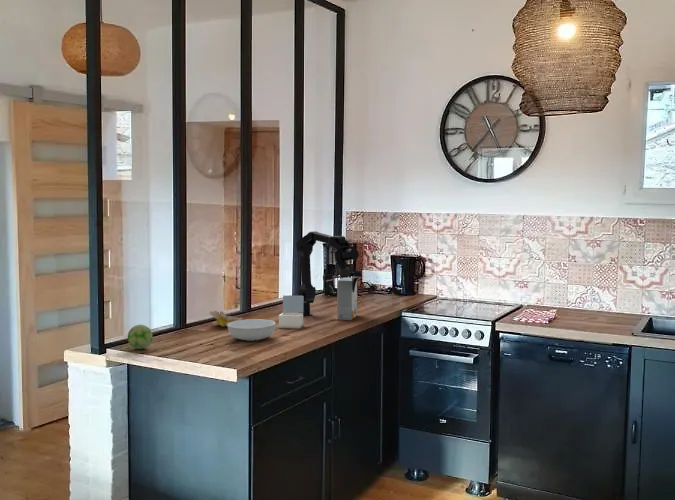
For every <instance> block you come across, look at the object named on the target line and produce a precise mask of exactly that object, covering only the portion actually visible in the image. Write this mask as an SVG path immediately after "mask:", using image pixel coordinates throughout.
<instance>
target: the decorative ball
mask: <svg viewBox="0 0 675 500" xmlns="http://www.w3.org/2000/svg"><path fill="white" fill-rule="evenodd" d="M127 341H128V344H129V345H130V346H131V347H133V348H134V349H136V350H144V349H147V348H148V347H150V345H151V343H152V342H153V332H152V329H151V328H150V327H148V326H147V325H145V324H137V325H133V327H131V328H130V329H129V331H128V333H127ZM143 348H144V349H143Z"/></svg>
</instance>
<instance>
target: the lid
mask: <svg viewBox="0 0 675 500" xmlns="http://www.w3.org/2000/svg"><path fill="white" fill-rule="evenodd" d="M303 302H304V296H298V295H285V294H284V295H282V313H303Z"/></svg>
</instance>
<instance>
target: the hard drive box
mask: <svg viewBox="0 0 675 500" xmlns="http://www.w3.org/2000/svg"><path fill="white" fill-rule="evenodd" d="M352 278H353V277H342V278H339V279H338V280H337V286H336V287H337V294H336V299H337V300H336V320H342V321H352V320H353V319H355V317H357V315H358V314H357V313H358V309H357V308H358V303H357V302H358V301H357V300H358V284H357V283H358V280H357V281H356V284H355V289H354V292H353V291H352Z"/></svg>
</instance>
